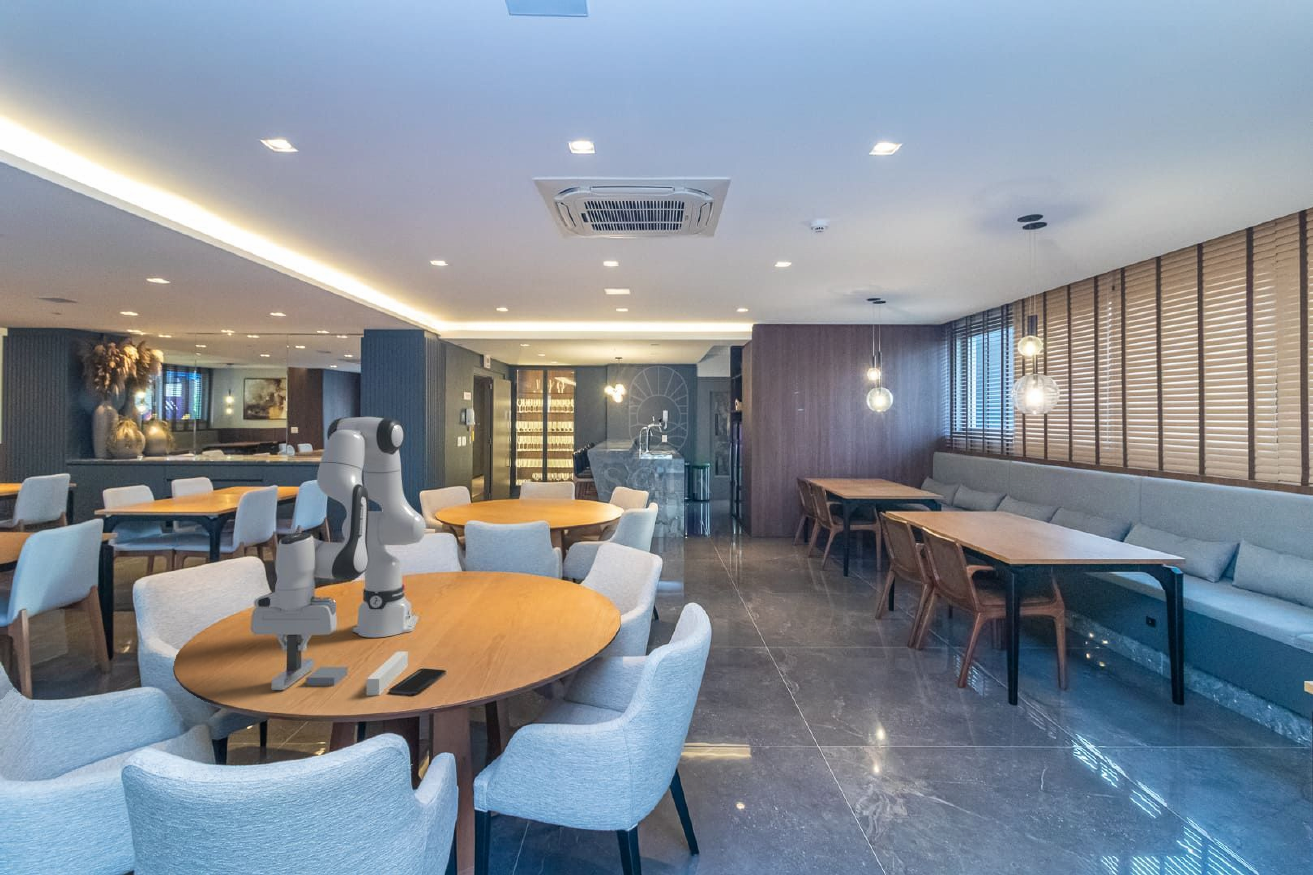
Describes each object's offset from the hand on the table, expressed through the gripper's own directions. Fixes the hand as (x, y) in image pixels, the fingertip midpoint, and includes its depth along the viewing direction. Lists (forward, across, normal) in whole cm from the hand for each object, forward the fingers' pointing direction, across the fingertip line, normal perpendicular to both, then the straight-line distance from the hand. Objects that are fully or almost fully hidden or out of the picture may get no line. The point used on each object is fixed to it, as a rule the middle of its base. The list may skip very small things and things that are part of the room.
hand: (294, 650), depth 154 cm
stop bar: (+8, -24, 0) cm, 25 cm away
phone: (+8, -32, +2) cm, 34 cm away
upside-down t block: (+7, 0, 0) cm, 7 cm away
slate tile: (+8, -8, 0) cm, 12 cm away
